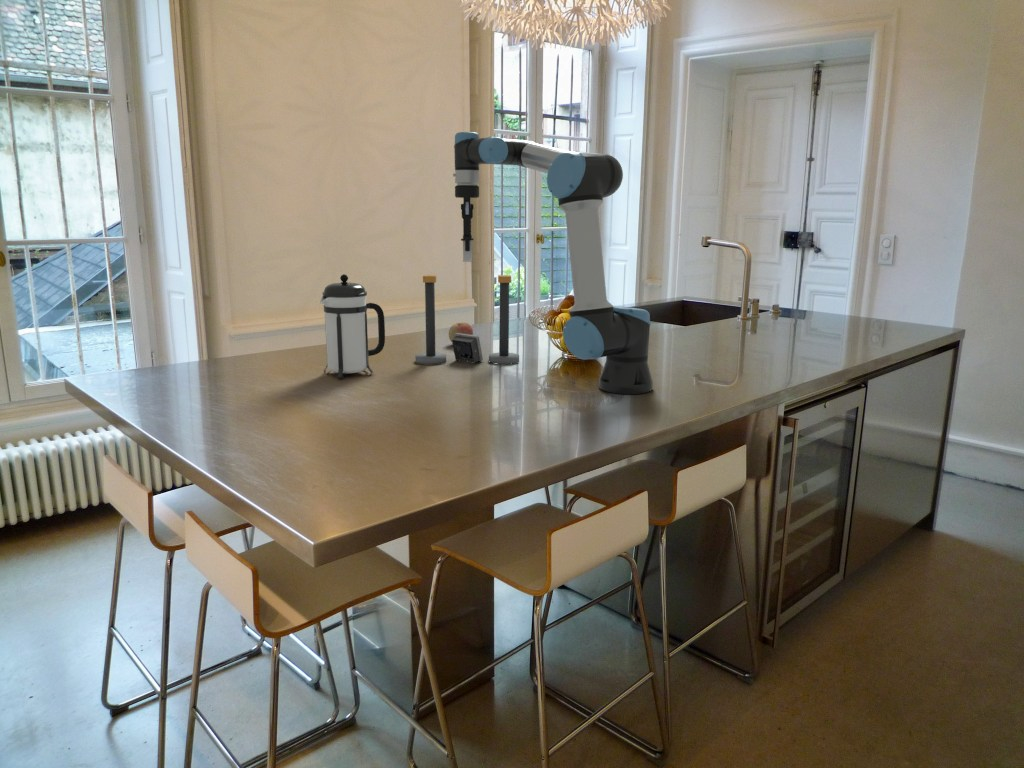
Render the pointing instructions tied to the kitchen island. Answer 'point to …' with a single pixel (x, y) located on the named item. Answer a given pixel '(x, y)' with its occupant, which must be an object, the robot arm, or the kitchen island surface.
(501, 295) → the post
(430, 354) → the post
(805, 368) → the kitchen island surface
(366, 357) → the coffee press
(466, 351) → the electrical switch
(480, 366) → the kitchen island surface
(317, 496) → the kitchen island surface
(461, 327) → the apple
